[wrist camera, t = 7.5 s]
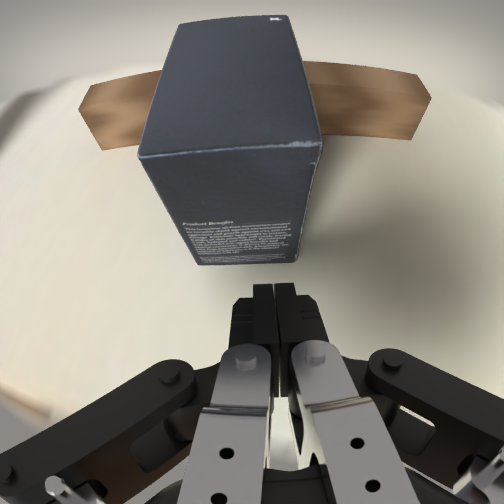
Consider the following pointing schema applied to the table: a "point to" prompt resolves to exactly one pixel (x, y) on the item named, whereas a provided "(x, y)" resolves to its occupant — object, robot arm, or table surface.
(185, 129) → the small box
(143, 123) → the walnut board
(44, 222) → the table surface
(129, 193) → the table surface
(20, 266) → the table surface
